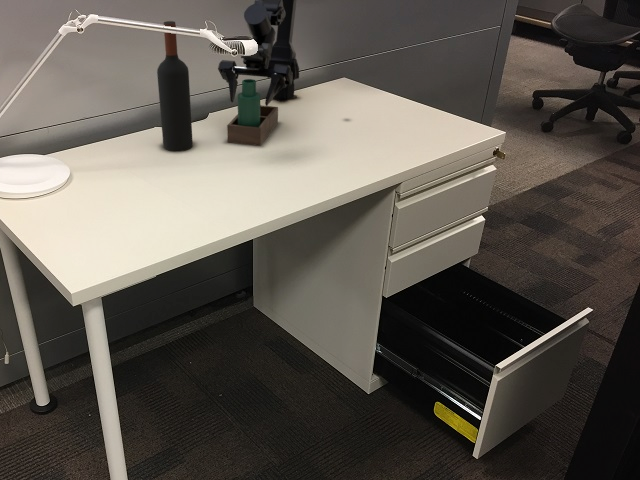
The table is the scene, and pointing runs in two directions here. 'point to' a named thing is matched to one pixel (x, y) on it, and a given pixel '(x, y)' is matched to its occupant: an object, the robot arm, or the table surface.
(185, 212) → the table surface
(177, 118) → the wine bottle
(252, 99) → the bottle
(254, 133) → the carrier
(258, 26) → the robot arm
